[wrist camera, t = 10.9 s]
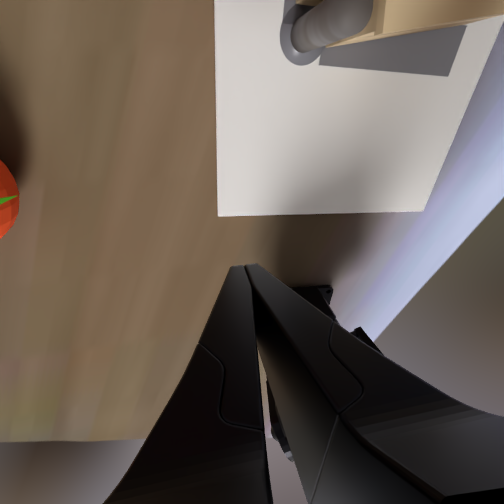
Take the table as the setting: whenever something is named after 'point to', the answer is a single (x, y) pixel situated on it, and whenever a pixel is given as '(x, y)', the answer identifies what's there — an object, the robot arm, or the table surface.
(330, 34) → the fence fixed
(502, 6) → the fence fold
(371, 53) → the mat
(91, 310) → the table surface
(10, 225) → the clementine
